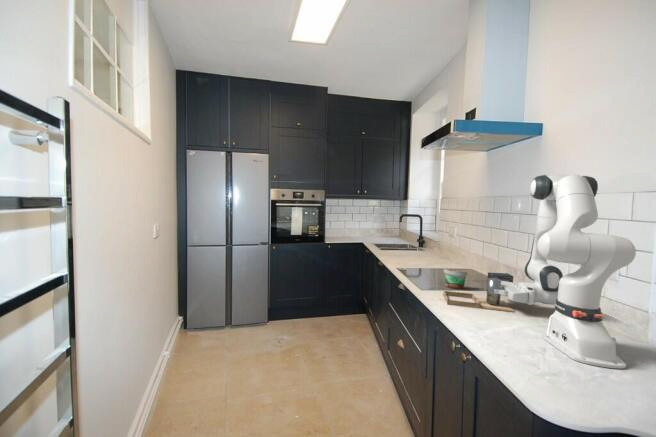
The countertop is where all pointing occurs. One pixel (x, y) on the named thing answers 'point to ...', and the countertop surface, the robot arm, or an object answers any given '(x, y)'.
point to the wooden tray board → (478, 302)
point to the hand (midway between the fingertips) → (491, 288)
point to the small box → (501, 277)
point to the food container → (455, 279)
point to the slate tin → (492, 296)
